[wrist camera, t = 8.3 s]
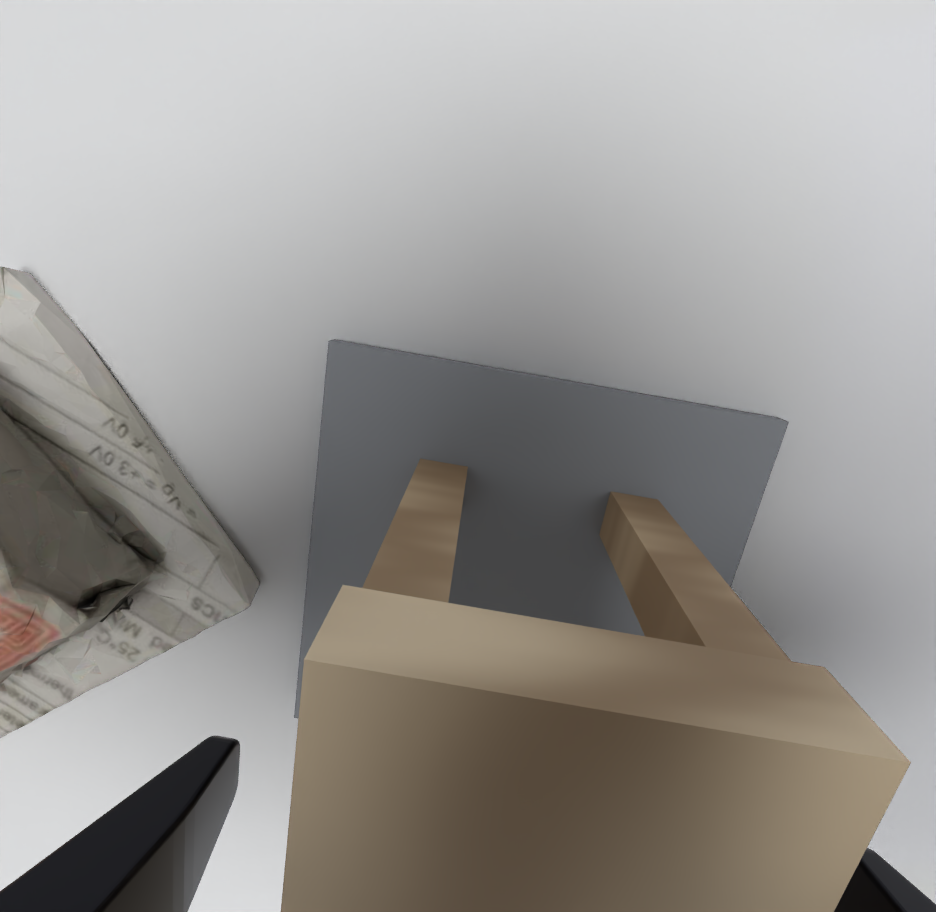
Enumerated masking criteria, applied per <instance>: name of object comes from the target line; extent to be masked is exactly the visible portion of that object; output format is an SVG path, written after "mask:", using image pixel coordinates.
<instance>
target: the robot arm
mask: <svg viewBox="0 0 936 912" xmlns="http://www.w3.org/2000/svg"><path fill="white" fill-rule="evenodd" d="M239 758H240V744H239V741H238V740H236V739H233V738H227V737H221V736H211V737H209V738H207V739H205V740H204V741H203V742H201V743H200V744H199V745H197V746H196V747H195V748H193V749H192V750H191V751H189V752H188V753H187V754H185V755H184V756H183V757H181V758H180V759H178V760H177V761H176V762H174V763H173V764H172V765H170V766H169V767H168V768H166V769H165V770H164V771H162V772H161V773H160V774H158V775H157V776H156V777H154V778H153V779H151V780H150V781H149V782H147V783H146V784H145V785H143V786H142V787H141V788H139V789H138V790H137V791H135V792H134V793H133V794H131V795H130V796H128V797H127V798H126V799H124V800H123V801H122V802H120V803H119V804H118V805H116V806H115V807H114V808H112V809H111V810H110V811H108V812H107V813H106V814H104V815H103V816H101V817H100V818H99V819H97V820H96V821H95V822H93V823H92V824H91V825H89V826H88V827H87V828H85V829H84V830H83V831H81V832H80V833H79V834H77V835H76V836H74V837H73V838H72V839H70V840H69V841H68V842H66V843H65V844H64V845H62V846H61V847H60V848H58V849H57V850H56V851H54V852H53V853H51V854H50V855H49V856H47V857H46V858H45V859H43V860H42V861H41V862H39V863H38V864H37V865H35V866H34V867H33V868H31V869H30V870H29V871H27V872H26V873H24V874H23V875H22V876H20V877H19V878H18V879H16V880H15V881H14V882H12V883H11V884H10V885H8V886H7V887H6V888H4V889H3V890H2V891H0V912H187V911H188V909H189V907H190V904H191V902H192V900H193V897H194V895H195V892H196V890H197V887H198V885H199V883H200V880H201V878H202V875H203V873H204V870H205V868H206V865H207V863H208V861H209V858H210V856H211V853H212V851H213V848H214V846H215V844H216V841H217V839H218V836H219V834H220V831H221V829H222V827H223V824H224V822H225V819H226V817H227V814H228V812H229V809H230V807H231V805H232V802H233V800H234V797H235V794H236V790H237V786H238V776H239ZM834 912H936V904H935V903H933V902H932V901H931V900H930V899H929V898H928V897H927V896H925V895H924V894H923V893H922V892H921V891H920V890H918V889H917V888H916V887H915V886H914V885H913V884H912V883H910V882H909V881H908V880H907V879H906V878H905V877H903V876H902V875H901V874H900V873H899V872H898V871H897V870H895V869H894V868H893V867H892V866H891V865H890V864H888V863H887V862H886V861H885V860H884V859H883V858H881V857H880V856H879V855H878V854H877V853H876V852H874V851H873V850H871V849H869V848H866V850H865V852H864V854H863V856H862V858H861V860H860V862H859V864H858V866H857V868H856V870H855V872H854V874H853V876H852V877H851V879H850V881H849V883H848V885H847V887H846V889H845V891H844V893H843V895H842V897H841V899H840V901H839V903H838V905H837V907H836V908H835V910H834Z"/></svg>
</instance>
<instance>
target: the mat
mask: <svg viewBox="0 0 936 912" xmlns="http://www.w3.org/2000/svg"><path fill="white" fill-rule="evenodd" d="M788 423H789V422H787V421H785V420H783V419H780V418H778V417H772V416H766V415H761V414H755V413H749V412H744V411H738V410H732V409H727V408H721V407H715V406H710V405H704V404H698V403H693V402H687V401H681V400H675V399H670V398H664V397H658V396H653V395H647V394H641V393H636V392H630V391H624V390H619V389H613V388H607V387H602V386H596V385H590V384H585V383H579V382H573V381H568V380H562V379H556V378H551V377H545V376H539V375H534V374H528V373H522V372H516V371H511V370H505V369H499V368H494V367H488V366H482V365H477V364H471V363H465V362H460V361H454V360H448V359H443V358H437V357H431V356H426V355H420V354H414V353H409V352H403V351H397V350H392V349H386V348H380V347H375V346H369V345H363V344H357V343H352V342H346V341H340V340H331V341H329V343H328V354H327V365H326V376H325V387H324V398H323V409H322V420H321V430H320V441H319V452H318V463H317V474H316V485H315V496H314V507H313V518H312V529H311V539H310V550H309V561H308V572H307V583H306V594H305V605H304V616H303V627H302V638H301V648H300V659H299V670H298V681H297V692H296V703H295V714H294V718H299V708H300V698H301V687H302V676H303V665H304V658H305V656H306V655H307V653H308V651H309V649H310V647H311V645H312V643H313V641H314V639H315V637H316V635H317V633H318V632H319V630H320V628H321V626H322V624H323V622H324V620H325V618H326V616H327V614H328V612H329V610H330V608H331V607H332V605H333V603H334V601H335V599H336V597H337V595H338V593H339V591H340V589H341V587H342V585H347V586H353V587H359V588H362V587H363V585H364V583H365V580H366V578H367V576H368V574H369V571H370V569H371V567H372V565H373V563H374V560H375V558H376V556H377V554H378V551H379V549H380V547H381V545H382V543H383V540H384V538H385V536H386V534H387V531H388V529H389V527H390V525H391V522H392V520H393V518H394V516H395V514H396V511H397V509H398V507H399V505H400V502H401V500H402V498H403V496H404V494H405V491H406V489H407V487H408V485H409V482H410V480H411V478H412V476H413V473H414V471H415V469H416V467H417V465H418V462H419V460H420V459H426V460H432V461H438V462H444V463H449V464H455V465H461V466H467V467H468V469H467V476H466V483H465V490H464V497H463V504H462V511H461V518H460V525H459V532H458V539H457V546H456V553H455V560H454V567H453V573H452V580H451V587H450V594H449V601H448V603H453V604H458V605H464V606H470V607H476V608H482V609H488V610H493V611H499V612H505V613H511V614H517V615H523V616H529V617H534V618H540V619H546V620H552V621H558V622H564V623H569V624H575V625H581V626H587V627H593V628H599V629H604V630H610V631H616V632H622V633H628V634H634V635H640V636H645V635H644V633H643V630H642V628H641V626H640V624H639V622H638V619H637V617H636V615H635V613H634V611H633V608H632V606H631V604H630V602H629V600H628V597H627V595H626V593H625V591H624V588H623V586H622V584H621V582H620V580H619V577H618V575H617V573H616V571H615V569H614V566H613V564H612V562H611V560H610V558H609V555H608V553H607V551H606V549H605V547H604V544H603V542H602V540H601V538H600V535H599V534H600V530H601V526H602V522H603V518H604V515H605V511H606V507H607V503H608V499H609V495H610V492H611V491H612V492H617V493H623V494H629V495H635V496H641V497H646V498H652V499H658V500H659V501H660V503H661V504H662V505H663V506H664V507H665V509H666V510H667V511H668V512H669V513H670V515H671V516H672V517H673V518H674V520H675V521H676V522H677V523H678V524H679V526H680V527H681V528H682V529H683V530H684V532H685V533H686V534H687V535H688V536H689V538H690V539H691V540H692V541H693V543H694V544H695V545H696V546H697V547H698V549H699V550H700V551H701V552H702V553H703V555H704V556H705V557H706V558H707V560H708V561H709V562H710V563H711V564H712V566H713V567H714V568H715V569H716V570H717V572H718V573H719V574H720V575H721V577H722V578H723V579H724V580H725V581H726V583H727V584H728V585H729V586H730V587H731V584H732V582H733V579H734V576H735V573H736V570H737V567H738V564H739V562H740V559H741V556H742V553H743V550H744V547H745V545H746V542H747V539H748V536H749V533H750V530H751V528H752V525H753V522H754V519H755V516H756V513H757V511H758V508H759V505H760V502H761V499H762V496H763V494H764V491H765V488H766V485H767V482H768V479H769V477H770V474H771V471H772V468H773V465H774V462H775V460H776V457H777V454H778V451H779V448H780V445H781V442H782V440H783V437H784V434H785V431H786V428H787V425H788Z"/></svg>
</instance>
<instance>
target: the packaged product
mask: <svg viewBox="0 0 936 912" xmlns="http://www.w3.org/2000/svg"><path fill="white" fill-rule="evenodd" d="M259 585H260V583H259V581H258V579H257V577H256V576H255V574H254V572H253V570H252V569H251V567H250V566H249V564H248V563H247V562H246V560H245V559H244V557H243V556H242V555H241V553H240V552H239V551H238V549H237V548H236V546H235V545H234V544H233V542H232V541H231V540H230V538H229V537H228V535H227V534H226V533H225V531H224V530H223V529H222V527H221V526H220V524H219V523H218V522H217V520H216V519H215V518H214V516H213V515H212V513H211V512H210V511H209V509H208V508H207V507H206V505H205V504H204V502H203V501H202V500H201V498H200V497H199V496H198V494H197V493H196V491H195V490H194V489H193V488H192V486H191V485H190V484H189V483H188V482H187V480H186V479H185V477H184V476H183V474H182V473H181V471H180V470H179V468H178V467H177V465H176V464H175V463H174V461H173V460H172V458H171V457H170V455H169V454H168V453H167V451H166V450H165V448H164V447H163V445H162V444H161V443H160V441H159V440H158V438H157V437H156V435H155V434H154V433H153V431H152V430H151V428H150V427H149V425H148V424H147V423H146V421H145V420H144V418H143V417H142V416H141V414H140V413H139V412H138V410H137V409H136V407H135V406H134V405H133V403H132V402H131V401H130V399H129V398H128V397H127V395H126V394H125V392H124V391H123V390H122V388H121V387H120V386H119V384H118V383H117V381H116V380H115V379H114V377H113V376H112V375H111V373H110V372H109V370H108V369H107V368H106V366H105V365H104V364H103V362H102V361H101V360H100V358H99V357H98V355H97V354H96V353H95V351H94V350H93V349H92V347H91V346H90V344H89V343H88V342H87V340H86V339H85V338H84V336H83V335H82V333H81V332H80V331H79V329H78V328H77V327H76V326H75V324H74V323H73V322H72V321H71V320H70V319H69V318H68V316H67V315H66V314H65V313H64V312H63V311H62V309H61V308H60V307H59V306H58V305H57V304H56V303H55V301H54V300H53V299H52V298H51V297H50V296H49V295H48V293H47V292H46V291H45V290H44V289H43V288H42V287H41V285H40V284H39V283H38V282H37V281H36V279H35V278H34V277H33V276H32V275H31V274H30V273H27V272H23V271H18V270H14V269H10V268H5V267H0V738H2V737H3V736H5V735H7V734H9V733H10V732H12V731H14V730H16V729H18V728H20V727H22V726H24V725H26V724H28V723H30V722H32V721H33V720H35V719H37V718H38V717H41V716H43V715H44V714H46V713H48V712H50V711H51V710H53V709H55V708H57V707H59V706H61V705H63V704H65V703H67V702H69V701H71V700H73V699H75V698H76V697H78V696H80V695H81V694H83V693H85V692H86V691H88V690H90V689H92V688H94V687H97V686H99V685H101V684H103V683H105V682H108V681H110V680H111V679H113V678H115V677H117V676H119V675H121V674H123V673H125V672H127V671H129V670H131V669H133V668H135V667H137V666H138V665H140V664H142V663H144V662H145V661H147V660H149V659H151V658H153V657H155V656H157V655H159V654H161V653H164V652H166V651H167V650H169V649H171V648H173V647H174V646H176V645H178V644H180V643H181V642H184V641H186V640H188V639H190V638H193V637H194V636H196V635H197V634H199V633H200V632H201V631H203V630H205V629H207V628H209V627H211V626H213V625H215V624H217V623H218V622H220V621H222V620H224V619H227V618H229V617H232V616H234V615H236V614H238V613H240V612H242V611H244V610H245V609H247V608H248V607H249V606H250V605H251V603H252V601H253V598H254V596H255V594H256V591H257V589H258V587H259Z"/></svg>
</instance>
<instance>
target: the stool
mask: <svg viewBox="0 0 936 912" xmlns="http://www.w3.org/2000/svg"><path fill="white" fill-rule="evenodd" d="M467 469H468V467H467V466H461V465H455V464H449V463H444V462H438V461H432V460H426V459H420V460H419V462H418V465H417V467H416V469H415V471H414V473H413V476H412V478H411V480H410V482H409V485H408V487H407V489H406V491H405V494H404V496H403V498H402V500H401V502H400V505H399V507H398V509H397V511H396V514H395V516H394V518H393V520H392V522H391V525H390V527H389V529H388V531H387V534H386V536H385V538H384V540H383V543H382V545H381V547H380V549H379V551H378V554H377V556H376V558H375V560H374V563H373V565H372V567H371V569H370V571H369V574H368V576H367V578H366V580H365V583H364V585H363V587H362V588H359V587H353V586H347V585H342V587H341V589H340V591H339V593H338V595H337V597H336V599H335V601H334V603H333V605H332V607H331V608H330V610H329V612H328V614H327V616H326V618H325V620H324V622H323V624H322V626H321V628H320V630H319V632H318V633H317V635H316V637H315V639H314V641H313V643H312V645H311V647H310V649H309V651H308V653H307V655H306V656H305V658H304V665H303V676H302V687H301V698H300V708H299V719H298V730H297V741H296V752H295V763H294V774H293V785H292V795H291V806H290V817H289V828H288V839H287V850H286V861H285V872H284V883H283V893H282V904H281V912H834V910H835V908H836V907H837V905H838V903H839V901H840V899H841V897H842V895H843V893H844V891H845V889H846V887H847V885H848V883H849V881H850V879H851V877H852V876H853V874H854V872H855V870H856V868H857V866H858V864H859V862H860V860H861V858H862V856H863V854H864V852H865V850H866V848H867V846H868V845H869V843H870V841H871V839H872V837H873V835H874V833H875V831H876V829H877V827H878V825H879V823H880V821H881V819H882V817H883V815H884V814H885V812H886V810H887V808H888V806H889V804H890V802H891V800H892V798H893V796H894V794H895V792H896V790H897V788H898V786H899V784H900V783H901V781H902V779H903V777H904V775H905V773H906V771H907V769H908V767H909V765H910V763H911V762H910V761H909V760H908V759H907V758H906V757H905V756H904V755H903V753H902V752H901V751H900V750H899V749H898V748H897V747H896V746H895V745H894V743H893V742H892V741H891V740H890V739H889V738H888V737H887V736H886V735H885V733H884V732H883V731H882V730H881V729H880V728H879V727H878V726H877V725H876V723H875V722H874V721H873V720H872V719H871V718H870V717H869V716H868V715H867V713H866V712H865V711H864V710H863V709H862V708H861V707H860V706H859V705H858V703H857V702H856V701H855V700H854V699H853V698H852V697H851V696H850V695H849V694H848V692H847V691H846V690H845V689H844V688H843V687H842V686H841V685H840V684H839V682H838V681H837V680H836V679H835V678H834V677H833V676H832V675H831V674H830V672H829V671H828V670H827V669H826V668H825V667H821V666H815V665H809V664H803V663H797V662H792V661H791V660H790V659H789V658H788V657H787V655H786V654H785V653H784V652H783V651H782V649H781V648H780V647H779V646H778V644H777V643H776V642H775V641H774V640H773V638H772V637H771V636H770V635H769V634H768V632H767V631H766V630H765V629H764V627H763V626H762V625H761V624H760V623H759V621H758V620H757V619H756V618H755V617H754V615H753V614H752V613H751V612H750V610H749V609H748V608H747V607H746V606H745V604H744V603H743V602H742V601H741V600H740V598H739V597H738V596H737V595H736V594H735V592H734V591H733V590H732V589H731V587H730V586H729V585H728V584H727V583H726V581H725V580H724V579H723V578H722V577H721V575H720V574H719V573H718V572H717V570H716V569H715V568H714V567H713V566H712V564H711V563H710V562H709V561H708V560H707V558H706V557H705V556H704V555H703V553H702V552H701V551H700V550H699V549H698V547H697V546H696V545H695V544H694V543H693V541H692V540H691V539H690V538H689V536H688V535H687V534H686V533H685V532H684V530H683V529H682V528H681V527H680V526H679V524H678V523H677V522H676V521H675V520H674V518H673V517H672V516H671V515H670V513H669V512H668V511H667V510H666V509H665V507H664V506H663V505H662V504H661V503H660V501H659V500H658V499H652V498H646V497H641V496H635V495H629V494H623V493H617V492H612V491H611V492H610V495H609V499H608V503H607V507H606V511H605V515H604V518H603V522H602V526H601V530H600V534H599V535H600V538H601V540H602V542H603V544H604V547H605V549H606V551H607V553H608V555H609V558H610V560H611V562H612V564H613V566H614V569H615V571H616V573H617V575H618V577H619V580H620V582H621V584H622V586H623V588H624V591H625V593H626V595H627V597H628V600H629V602H630V604H631V606H632V608H633V611H634V613H635V615H636V617H637V619H638V622H639V624H640V626H641V628H642V630H643V633H644V635H645V636H640V635H634V634H628V633H622V632H616V631H610V630H604V629H599V628H593V627H587V626H581V625H575V624H569V623H564V622H558V621H552V620H546V619H540V618H534V617H529V616H523V615H517V614H511V613H505V612H499V611H493V610H488V609H482V608H476V607H470V606H464V605H458V604H453V603H448V601H449V594H450V587H451V580H452V573H453V567H454V560H455V553H456V546H457V539H458V532H459V525H460V518H461V511H462V504H463V497H464V490H465V483H466V476H467Z"/></svg>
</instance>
